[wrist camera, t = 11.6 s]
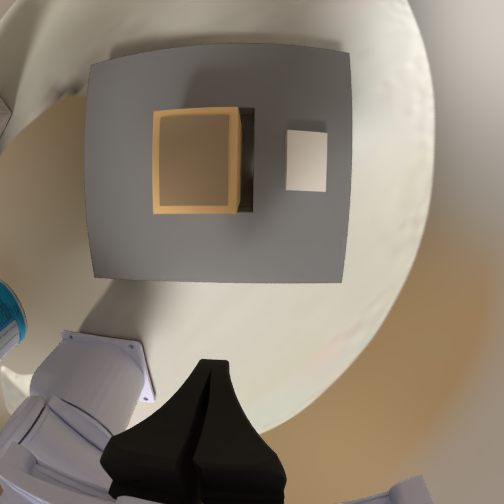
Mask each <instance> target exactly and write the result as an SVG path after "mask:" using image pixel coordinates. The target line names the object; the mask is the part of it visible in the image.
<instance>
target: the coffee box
mask: <svg viewBox="0 0 504 504" xmlns="http://www.w3.org/2000/svg"><path fill="white" fill-rule="evenodd" d="M11 114H12V113H11V111H10V110H9V109H8V107H7V106H6V104H5V103H4V101H3V100H2V98H1V97H0V137H1V135H2V133H3V130H4V128H5V126H6V124H7V122H8V120H9V118H10V116H11Z"/></svg>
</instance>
